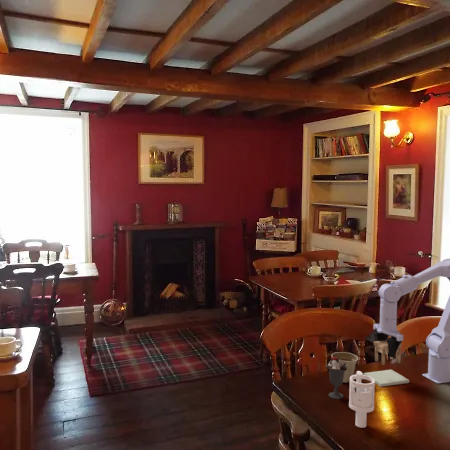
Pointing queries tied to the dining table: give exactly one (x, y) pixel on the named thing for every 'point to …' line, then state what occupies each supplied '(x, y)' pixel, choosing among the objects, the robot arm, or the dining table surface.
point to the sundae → (336, 375)
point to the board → (387, 378)
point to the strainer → (361, 397)
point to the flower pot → (347, 363)
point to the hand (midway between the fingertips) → (386, 354)
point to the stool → (385, 350)
